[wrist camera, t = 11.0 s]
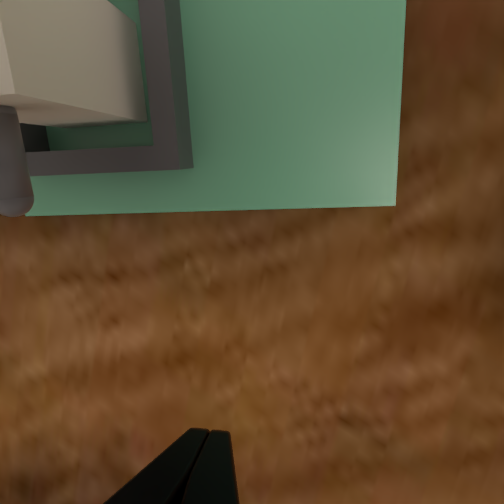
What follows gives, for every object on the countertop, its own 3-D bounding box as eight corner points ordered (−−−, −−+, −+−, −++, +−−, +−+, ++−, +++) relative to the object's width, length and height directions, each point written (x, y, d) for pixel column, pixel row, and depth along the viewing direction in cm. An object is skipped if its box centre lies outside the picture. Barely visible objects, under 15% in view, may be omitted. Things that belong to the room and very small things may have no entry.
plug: (133, 1, 15) (-34, -152, 8) (156, 193, 17) (41, 223, 10) (46, 12, 16) (-191, -122, 8) (78, 196, 18) (-89, 228, 10)
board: (405, -110, 14) (432, -178, 11) (390, 202, 17) (408, 212, 14) (-13, -51, 16) (-79, -95, 14) (38, 213, 19) (-7, 223, 17)
